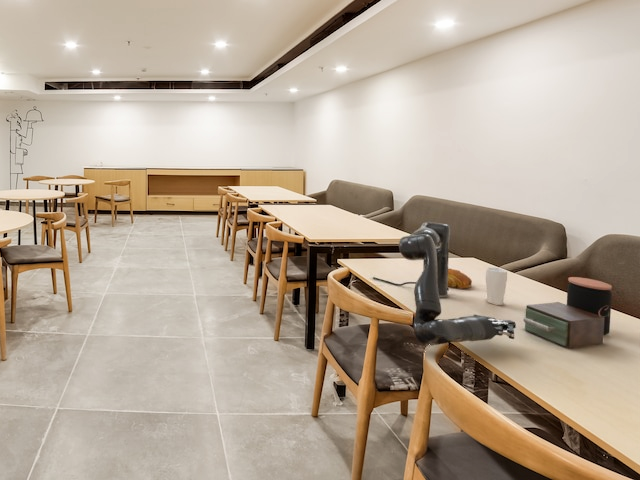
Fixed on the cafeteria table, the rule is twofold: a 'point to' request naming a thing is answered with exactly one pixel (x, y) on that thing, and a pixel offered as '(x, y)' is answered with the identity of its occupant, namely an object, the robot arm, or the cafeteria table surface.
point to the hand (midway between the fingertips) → (512, 324)
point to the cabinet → (574, 324)
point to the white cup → (495, 285)
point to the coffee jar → (591, 297)
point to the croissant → (458, 279)
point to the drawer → (546, 326)
